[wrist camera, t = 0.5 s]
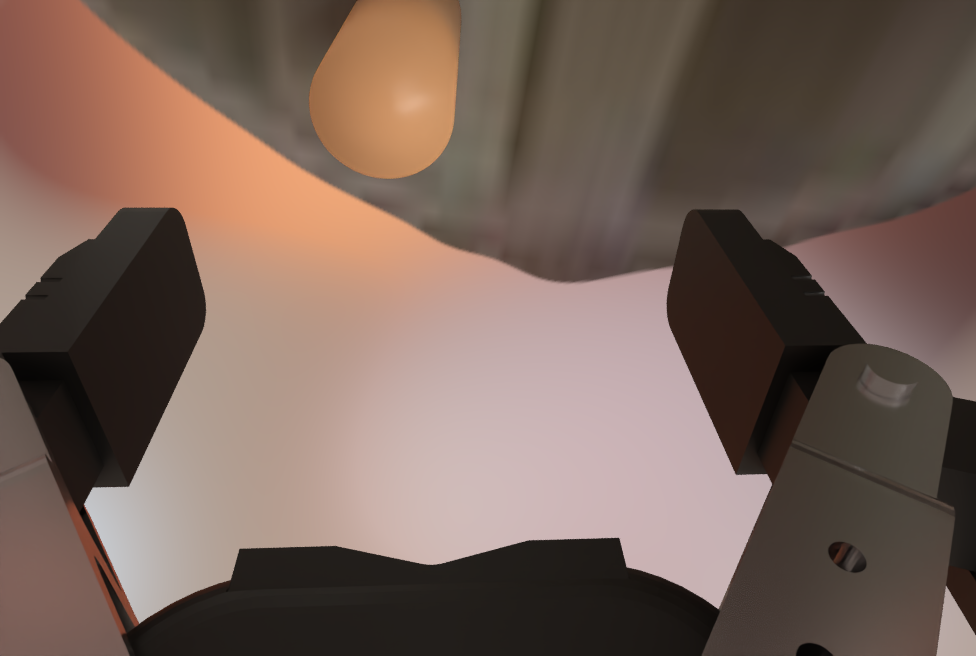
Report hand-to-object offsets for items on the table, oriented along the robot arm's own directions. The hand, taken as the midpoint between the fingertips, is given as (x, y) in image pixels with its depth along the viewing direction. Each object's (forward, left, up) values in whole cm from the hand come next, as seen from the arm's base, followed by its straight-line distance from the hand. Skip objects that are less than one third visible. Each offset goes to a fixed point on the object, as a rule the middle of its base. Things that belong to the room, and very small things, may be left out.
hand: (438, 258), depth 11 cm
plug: (+2, 0, -19) cm, 19 cm away
